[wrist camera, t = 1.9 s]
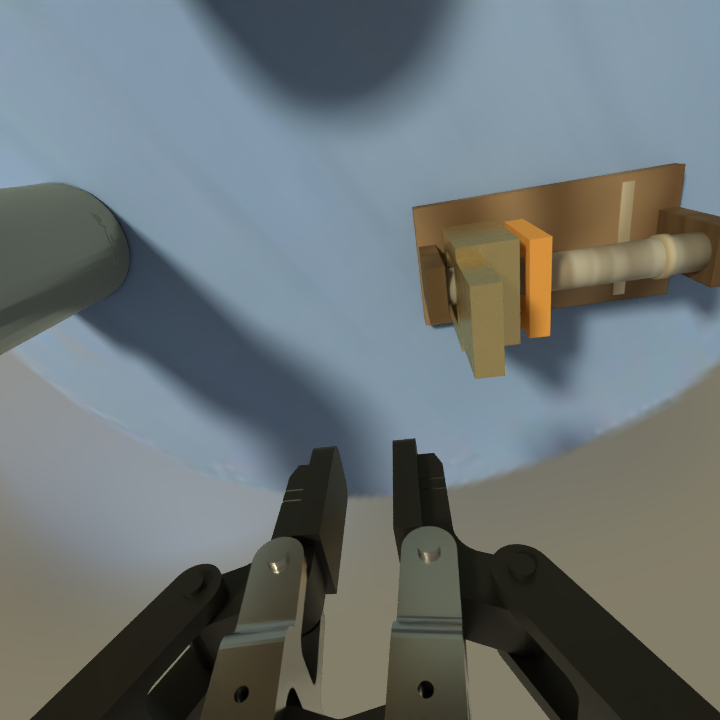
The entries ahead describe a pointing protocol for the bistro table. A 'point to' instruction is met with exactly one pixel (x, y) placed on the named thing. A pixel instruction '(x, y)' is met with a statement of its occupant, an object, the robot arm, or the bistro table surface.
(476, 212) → the pipe board
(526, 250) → the orange upright board
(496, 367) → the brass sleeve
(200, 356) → the bistro table surface
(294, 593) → the robot arm
